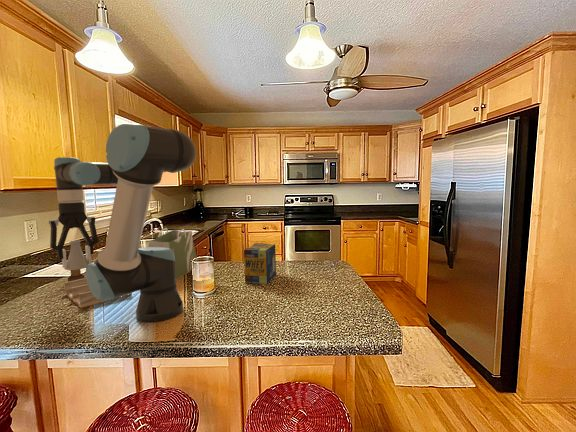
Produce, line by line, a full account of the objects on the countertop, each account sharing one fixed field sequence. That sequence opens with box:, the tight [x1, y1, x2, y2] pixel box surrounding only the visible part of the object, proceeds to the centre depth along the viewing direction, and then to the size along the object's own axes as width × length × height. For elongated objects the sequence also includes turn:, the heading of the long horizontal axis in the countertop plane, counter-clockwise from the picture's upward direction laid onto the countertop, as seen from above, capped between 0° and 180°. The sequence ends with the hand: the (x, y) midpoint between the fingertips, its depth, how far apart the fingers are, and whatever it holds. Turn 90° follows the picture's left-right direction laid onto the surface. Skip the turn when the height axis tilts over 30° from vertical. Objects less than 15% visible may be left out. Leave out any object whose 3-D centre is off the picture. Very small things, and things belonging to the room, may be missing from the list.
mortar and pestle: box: [67, 244, 85, 282], centre depth 145 cm, size 7×6×18 cm
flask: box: [64, 239, 89, 271], centre depth 110 cm, size 7×7×10 cm
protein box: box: [243, 242, 277, 286], centre depth 141 cm, size 10×15×16 cm
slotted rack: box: [64, 277, 133, 309], centre depth 127 cm, size 22×18×5 cm
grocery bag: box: [148, 227, 198, 280], centre depth 155 cm, size 32×14×23 cm, turn 175°
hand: (77, 265), depth 110 cm, fingers closed on flask, 7 cm apart
